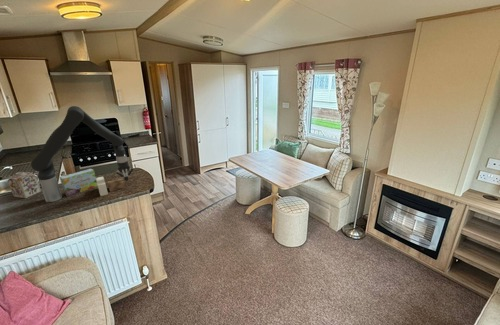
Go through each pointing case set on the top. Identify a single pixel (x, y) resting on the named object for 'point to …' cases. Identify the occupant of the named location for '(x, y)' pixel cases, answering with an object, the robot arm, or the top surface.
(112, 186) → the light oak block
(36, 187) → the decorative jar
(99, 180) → the cream rectangular block
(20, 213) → the top surface
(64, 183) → the snack box
